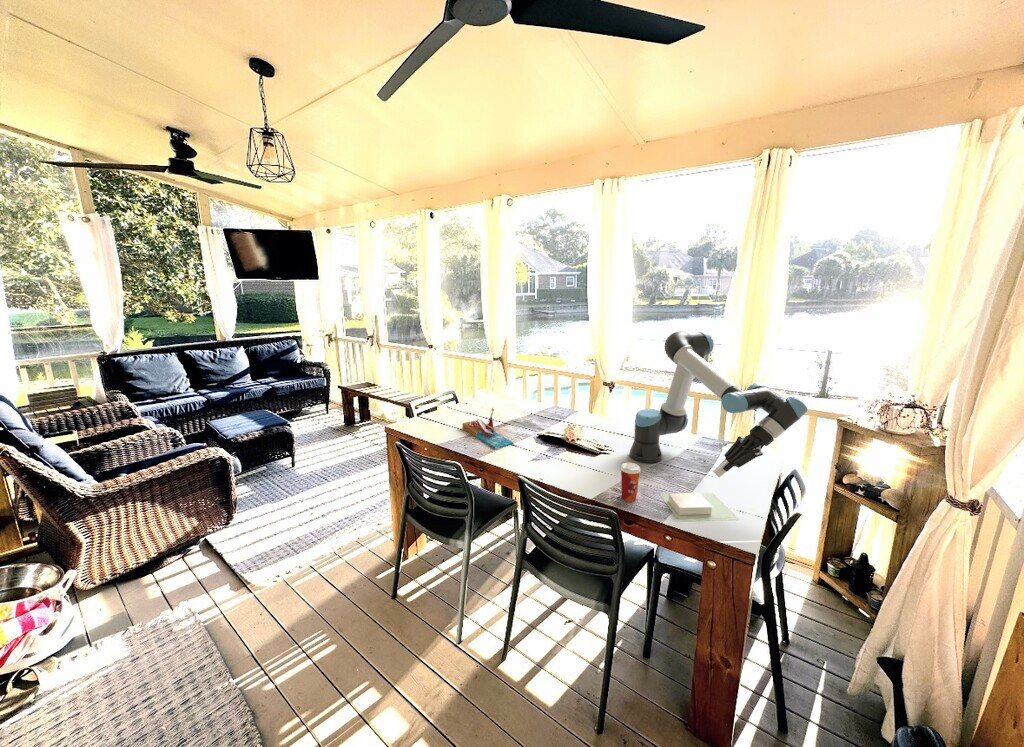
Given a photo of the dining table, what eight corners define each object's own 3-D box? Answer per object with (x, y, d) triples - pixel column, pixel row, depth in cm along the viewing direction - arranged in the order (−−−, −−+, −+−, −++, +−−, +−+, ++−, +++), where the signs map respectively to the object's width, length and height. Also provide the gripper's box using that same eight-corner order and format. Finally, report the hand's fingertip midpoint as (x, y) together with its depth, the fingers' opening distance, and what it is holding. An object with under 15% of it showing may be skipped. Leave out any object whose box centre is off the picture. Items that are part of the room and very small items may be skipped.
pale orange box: (698, 500, 157) (668, 501, 157) (699, 492, 156) (668, 493, 156) (711, 514, 147) (679, 515, 147) (712, 506, 147) (679, 507, 147)
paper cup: (633, 505, 155) (635, 472, 152) (615, 498, 160) (617, 466, 157) (642, 497, 161) (644, 465, 158) (624, 491, 166) (626, 460, 163)
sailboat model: (495, 450, 210) (495, 419, 206) (462, 430, 240) (461, 403, 236) (513, 445, 216) (514, 415, 213) (479, 426, 246) (479, 400, 243)
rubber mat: (659, 495, 162) (659, 493, 162) (712, 494, 163) (712, 492, 163) (679, 522, 144) (679, 521, 144) (739, 521, 144) (739, 519, 144)
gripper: (784, 445, 140) (731, 489, 143) (761, 431, 152) (713, 472, 156) (771, 431, 138) (718, 476, 142) (749, 418, 151) (701, 460, 155)
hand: (715, 474), depth 149 cm, fingers closed
